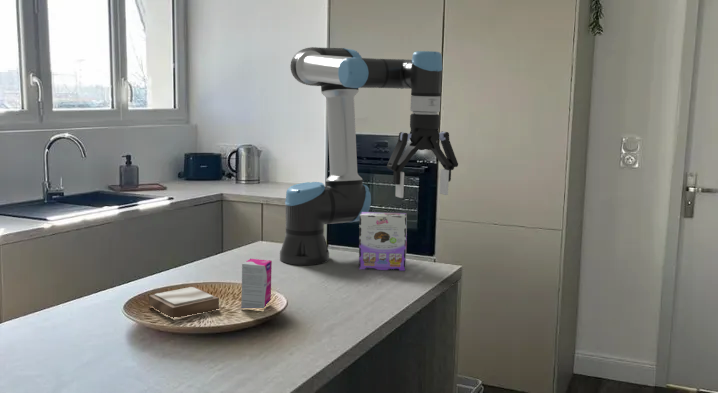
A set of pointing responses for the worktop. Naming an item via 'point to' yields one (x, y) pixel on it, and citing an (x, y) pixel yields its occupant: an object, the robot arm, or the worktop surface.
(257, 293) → the supplement box
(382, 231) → the candy box
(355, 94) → the robot arm
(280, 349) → the worktop surface
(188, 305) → the stand
